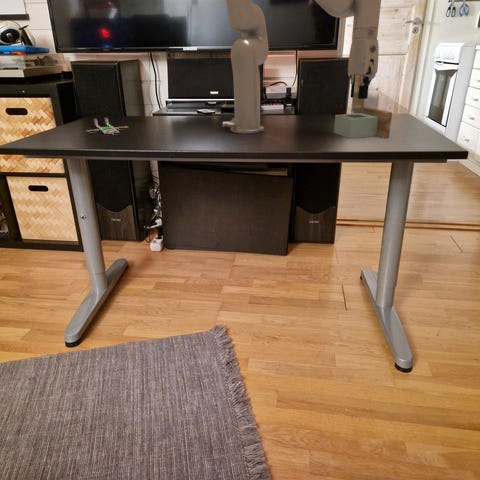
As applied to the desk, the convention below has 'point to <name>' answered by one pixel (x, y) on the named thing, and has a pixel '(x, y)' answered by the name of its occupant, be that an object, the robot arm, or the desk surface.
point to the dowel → (357, 103)
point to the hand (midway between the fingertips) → (358, 97)
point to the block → (355, 125)
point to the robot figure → (106, 128)
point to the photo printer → (370, 100)
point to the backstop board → (380, 120)
